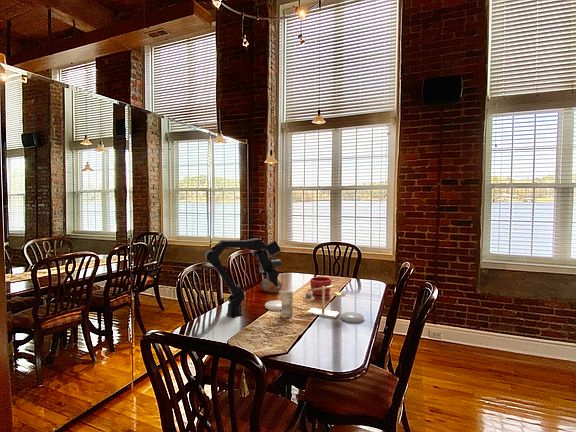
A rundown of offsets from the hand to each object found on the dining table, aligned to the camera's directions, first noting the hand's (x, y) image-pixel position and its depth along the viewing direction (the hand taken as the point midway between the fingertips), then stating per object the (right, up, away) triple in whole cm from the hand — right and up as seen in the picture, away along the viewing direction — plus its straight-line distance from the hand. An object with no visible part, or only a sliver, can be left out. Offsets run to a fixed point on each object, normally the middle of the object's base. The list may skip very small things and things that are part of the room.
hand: (274, 284), depth 195 cm
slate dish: (+41, -16, -11) cm, 46 cm away
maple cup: (+7, -15, -7) cm, 18 cm away
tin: (-4, -12, +39) cm, 41 cm away
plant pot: (+28, -14, +27) cm, 41 cm away
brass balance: (+27, -15, -4) cm, 31 cm away
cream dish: (+1, -14, +7) cm, 16 cm away
